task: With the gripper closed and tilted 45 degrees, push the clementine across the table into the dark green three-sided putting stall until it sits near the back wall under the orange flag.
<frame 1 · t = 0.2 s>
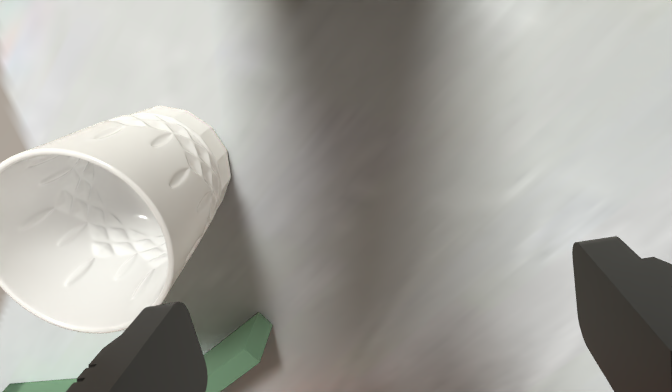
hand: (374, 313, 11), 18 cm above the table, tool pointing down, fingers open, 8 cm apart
white cup: (173, 163, 30), on the table
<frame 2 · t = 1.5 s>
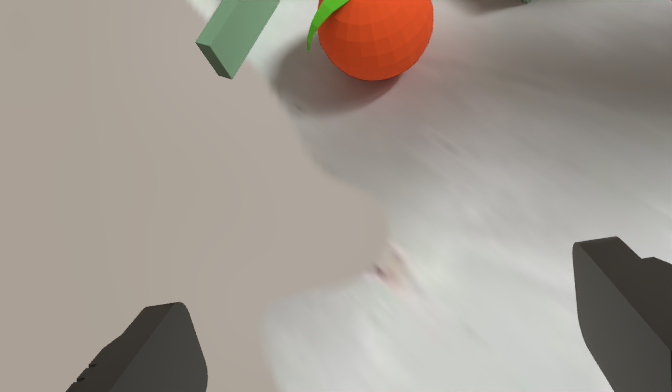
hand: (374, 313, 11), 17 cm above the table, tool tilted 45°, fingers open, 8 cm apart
clementine: (377, 64, 35), on the table
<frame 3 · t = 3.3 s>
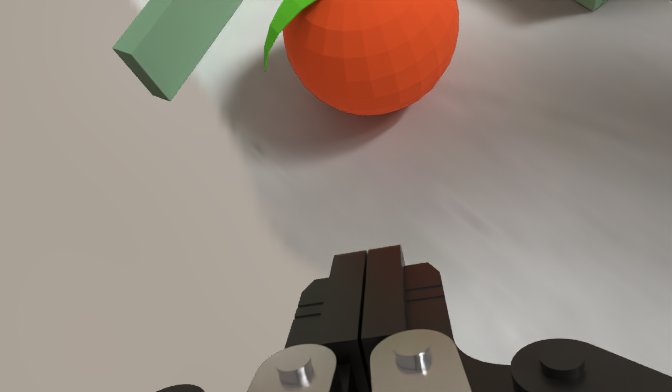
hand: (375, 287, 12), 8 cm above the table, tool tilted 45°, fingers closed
clementine: (372, 90, 24), on the table
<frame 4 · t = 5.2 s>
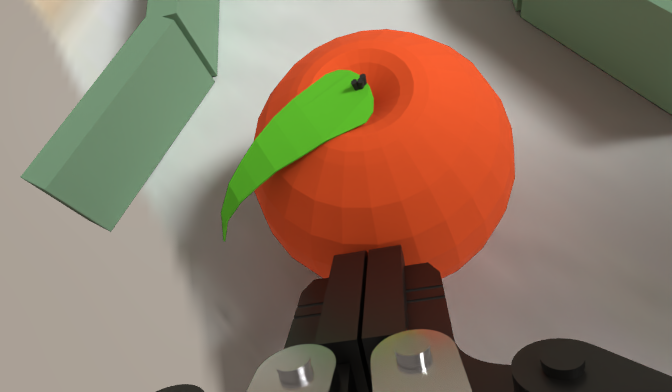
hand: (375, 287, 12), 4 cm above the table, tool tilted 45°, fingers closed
clementine: (382, 226, 17), on the table, touching gripper
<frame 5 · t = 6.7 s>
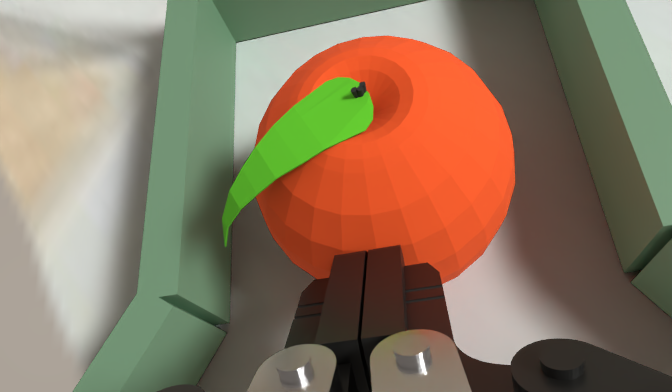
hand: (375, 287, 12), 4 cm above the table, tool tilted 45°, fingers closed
clementine: (384, 229, 18), on the table, touching gripper
putting stall: (391, 134, 19), on the table
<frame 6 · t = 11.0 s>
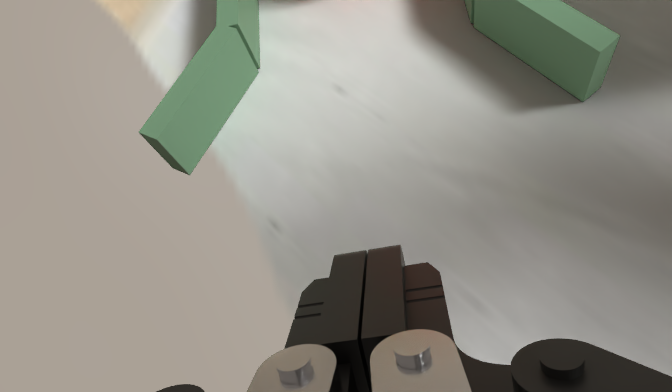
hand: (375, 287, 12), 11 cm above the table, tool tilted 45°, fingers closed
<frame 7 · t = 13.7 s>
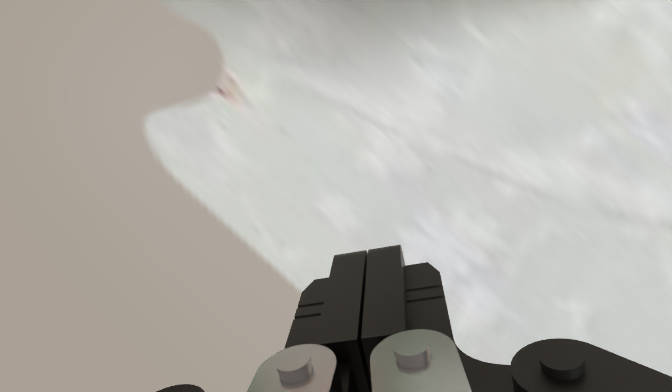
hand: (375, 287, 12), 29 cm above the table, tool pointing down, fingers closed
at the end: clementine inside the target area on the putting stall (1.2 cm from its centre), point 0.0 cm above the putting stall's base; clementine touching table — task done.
